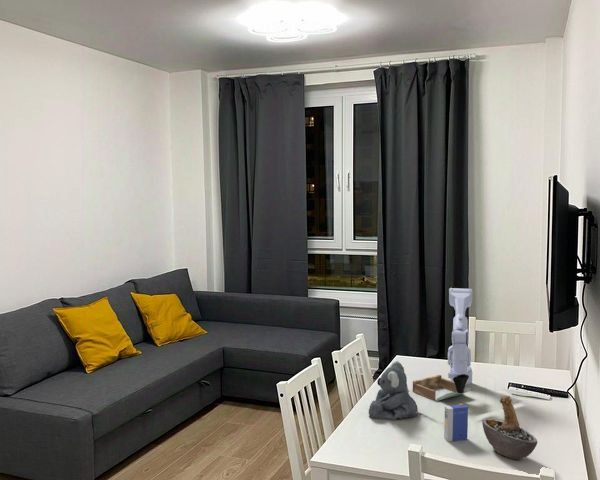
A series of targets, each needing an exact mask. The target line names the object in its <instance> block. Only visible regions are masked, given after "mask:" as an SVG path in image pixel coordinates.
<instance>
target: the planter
mask: <svg viewBox="0 0 600 480" xmlns="http://www.w3.org/2000/svg"><path fill="white" fill-rule="evenodd" d="M499 403H500V404H501V405H502V410H503V414H504V415H503V416H504V419H503V421H501V420H495V419H491V418H482V420H481V422H482V428H483V432H484V435H485V437H486V439H487V441H488V443H489V444H490V445H491V446H492V449H493V450H494V451H495V452H496V453H498V454H500V456H503V457H506V458H508V459H512V460H519V461H520V460H523V458H524V459H525V458H527V457H529V456H530V455H531V454H532V453H533V452H534V450H535V448H536V447H537V445H538V442H539V441H538V439H537V438H536V437H535V436H534V435H533V434H532V433H530V432H529V431H527V430H525V429H523V428H522V427H520V423H519V420H518V418H517V417H518V416H517V412H516V410H515V407H514V405H513V402H512V399H511V397H510V395H507V394H506V395H503V396H501V398H500V399H499Z"/></svg>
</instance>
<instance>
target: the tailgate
mask: <svg viewBox="0 0 600 480" xmlns="http://www.w3.org/2000/svg"><path fill="white" fill-rule="evenodd" d="M471 390H472V388H471V387H466V388H464V392H463V393H462V394H461V393H458V392H457V391H456V392H453V391H451V392H449V393H445V394H444V395H442V396H439V397H436V401H442V400H446V399H450V398H454V397H458V396H460V395H465V393H468V392H469V391H471Z"/></svg>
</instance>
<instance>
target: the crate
mask: <svg viewBox="0 0 600 480" xmlns="http://www.w3.org/2000/svg"><path fill="white" fill-rule="evenodd" d="M438 387H440V388H442V389H445V390H448V391H451V392H456V391H457V390H456V386H455V383H454V382H452V381H450V379H446V378H443V377H442V375H441V374H437V375H433V376H430V377H429V376H428V377H425V378H421V379H417V380H412V392H413V393H414V394H417V395H420V396H422V397H424V398H427V399H429V400H431V401H435V400H436V399H437V397H436V395H437V394H436V390H434V388H438Z"/></svg>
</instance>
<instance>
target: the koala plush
mask: <svg viewBox="0 0 600 480" xmlns="http://www.w3.org/2000/svg"><path fill="white" fill-rule="evenodd" d="M407 381H408V379H407V375H406V372H405V367H404V366H403V364H402V363H401V362H400V361H399V360H397V361H394V362H391V365H390V366H389V367H388V368H387V369H386V370H385V371H384V372H383V373H382V375H381V376H380V377H378V379H377V382H376V383H377V385H378V386H379V387H380V389H379V390H377V391H378V392H377V393H376V397H375V400H372V401H371V402H370V404H369V408H368V415H369V417H372V418H374V419H381V420H391V421H397V419H400V420H402V419H405V418H414V417H415V416H416V415H417V413H418V409H419V408H418V405H417V403H416V401H415V399H414V398H413V396H411V395H410V393H409V391H408V392H407V388H406V386H407V387H408V383H407Z"/></svg>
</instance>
